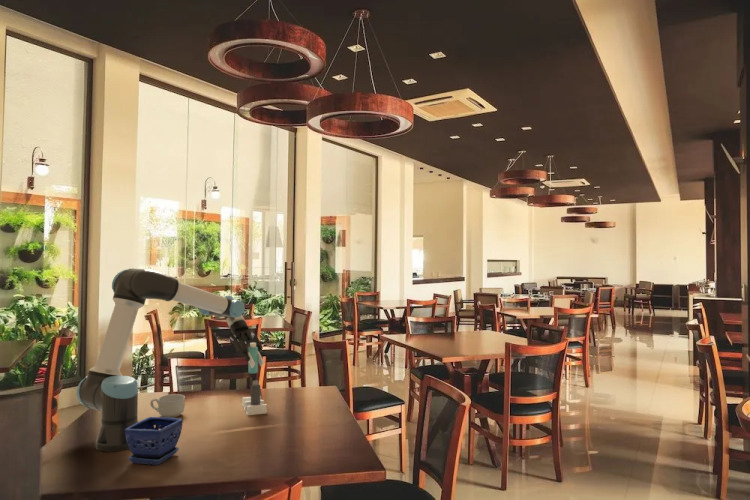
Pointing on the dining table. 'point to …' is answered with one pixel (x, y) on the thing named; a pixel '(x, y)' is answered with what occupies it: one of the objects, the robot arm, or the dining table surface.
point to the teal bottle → (254, 354)
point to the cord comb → (253, 406)
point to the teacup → (169, 405)
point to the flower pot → (153, 439)
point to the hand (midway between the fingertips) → (257, 365)
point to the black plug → (255, 393)
